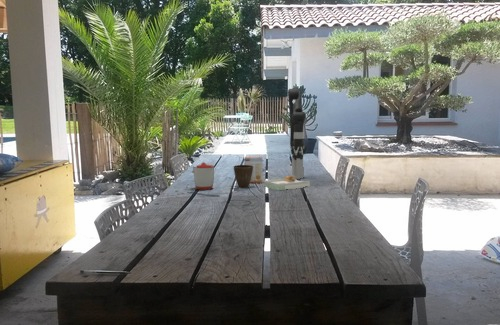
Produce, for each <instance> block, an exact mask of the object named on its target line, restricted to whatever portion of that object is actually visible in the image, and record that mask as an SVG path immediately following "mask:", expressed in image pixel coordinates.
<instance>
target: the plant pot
mask: <svg viewBox="0 0 500 325" xmlns="http://www.w3.org/2000/svg"><path fill="white" fill-rule="evenodd" d="M233 171H234V177H235V181H236V184H237V186H238V188H240V189H244V188H249V186H250V184H251V183H250V181H251V177H252V172H253V166H251V165H245V164H240V165H239V164H237V165H234V166H233Z"/></svg>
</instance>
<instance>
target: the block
mask: <svg viewBox="0 0 500 325" xmlns="http://www.w3.org/2000/svg"><path fill="white" fill-rule="evenodd" d="M284 179H285V181H286V182H294V181H295V180H296V179H295V176H292V175H284Z"/></svg>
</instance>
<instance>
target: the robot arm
mask: <svg viewBox="0 0 500 325" xmlns="http://www.w3.org/2000/svg"><path fill="white" fill-rule="evenodd" d="M302 96H303V92H302V89H301V88H300V87H299V88H297V87H296V88H289V89H288V91H287V99H288V107H289V114H288V115H289V128H290V129H289V130H290V131H289V132H290V134H289V135H290V136H289V140H290V141H289V145H290V153H291V155H292V156H291V159H292V160H291V176H295V180H301V179H300V178H302V179H304V178H305V166H304V155H305V154H306V151H307V146H305V141H304V124H305V120H306V116H307V115H306V113H305V112H304V111H303V107H302V102H303V101H302V100H303V97H302ZM293 101H294V102H293ZM303 177H304V178H303Z"/></svg>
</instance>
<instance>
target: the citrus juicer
mask: <svg viewBox="0 0 500 325" xmlns="http://www.w3.org/2000/svg"><path fill="white" fill-rule="evenodd" d="M191 173H192V174H193V182H194V185H195V186H194V187H195V189H196V190H203V191H204V190H205V191H208V190H210V189H211V190H212V189H213V187H214V181H215V165H211V164H207V163H206V162H204V161H203V162H202V163H201V164H198V165H196V166H193V167H192V171H191Z"/></svg>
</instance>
